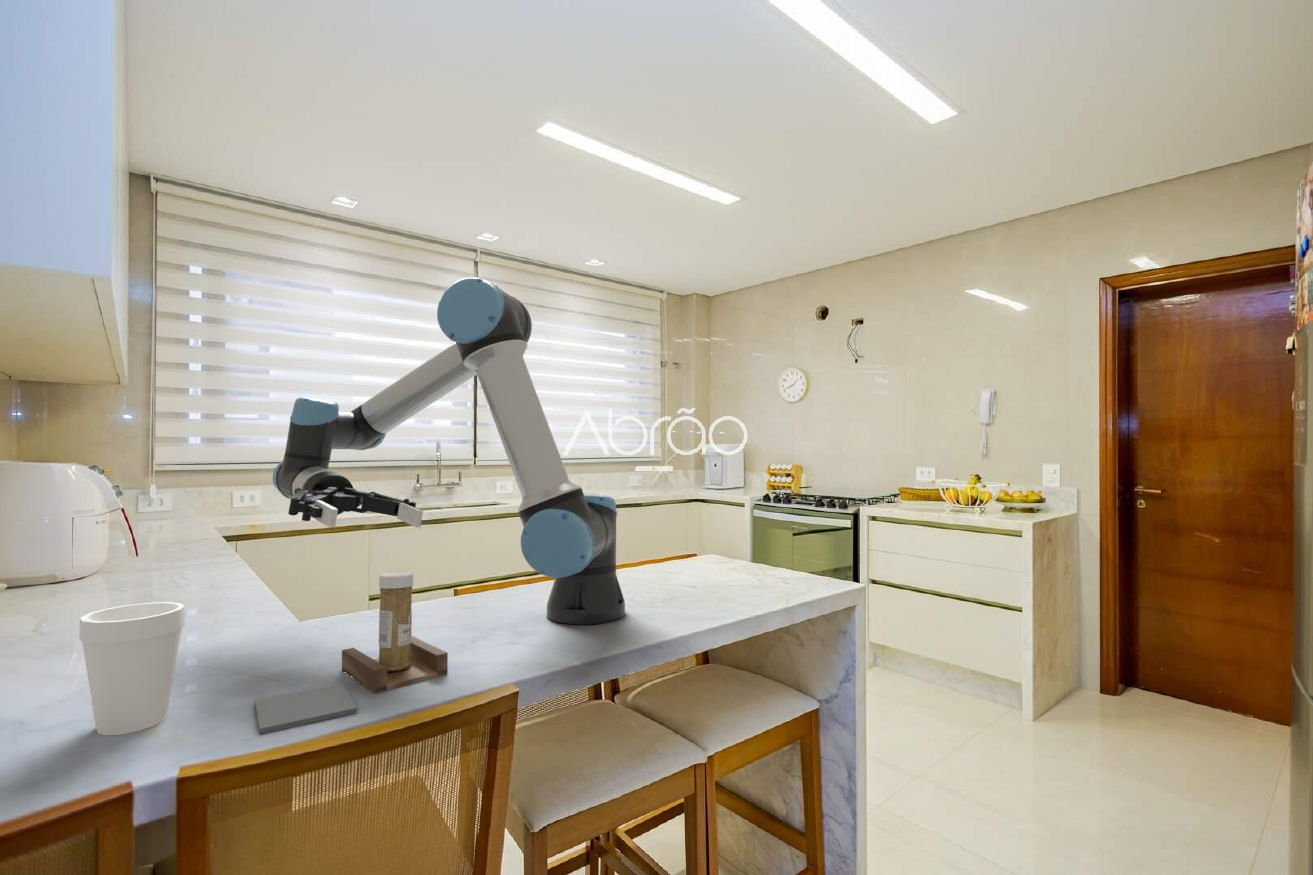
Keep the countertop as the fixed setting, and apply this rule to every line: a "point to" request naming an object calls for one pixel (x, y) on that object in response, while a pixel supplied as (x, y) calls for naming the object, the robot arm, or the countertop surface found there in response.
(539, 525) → the robot arm
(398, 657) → the spice jar
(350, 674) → the walnut cradle
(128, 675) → the foam cup
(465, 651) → the countertop surface
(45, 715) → the countertop surface
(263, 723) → the slate coaster
